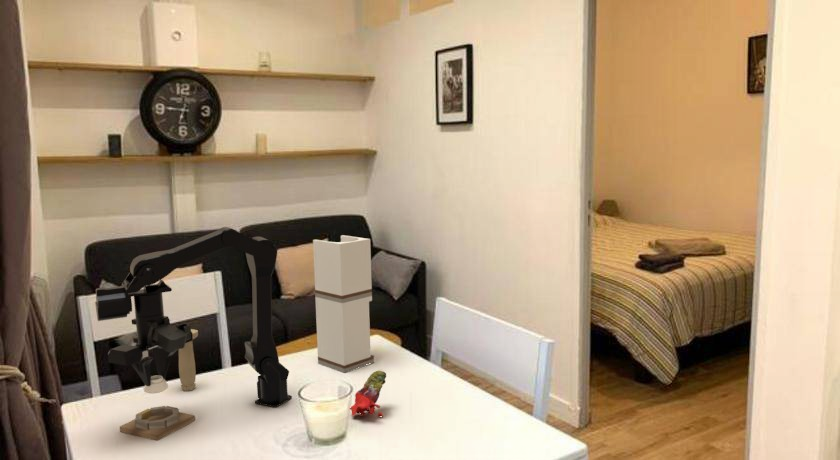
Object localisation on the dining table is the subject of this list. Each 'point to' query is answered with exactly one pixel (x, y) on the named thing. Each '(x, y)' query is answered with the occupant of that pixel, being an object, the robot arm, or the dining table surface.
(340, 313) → the stacked square vase
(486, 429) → the dining table surface
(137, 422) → the hub plate
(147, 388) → the white jar
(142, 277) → the robot arm
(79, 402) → the dining table surface
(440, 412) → the dining table surface
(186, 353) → the handle
